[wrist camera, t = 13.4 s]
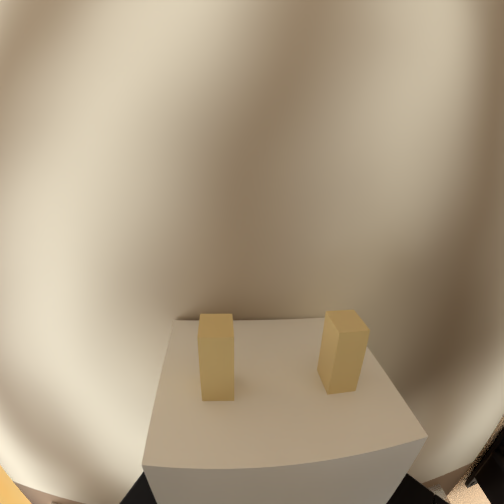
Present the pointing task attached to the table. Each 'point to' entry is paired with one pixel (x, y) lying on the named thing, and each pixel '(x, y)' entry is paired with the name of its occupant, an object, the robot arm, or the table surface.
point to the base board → (243, 210)
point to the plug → (277, 415)
